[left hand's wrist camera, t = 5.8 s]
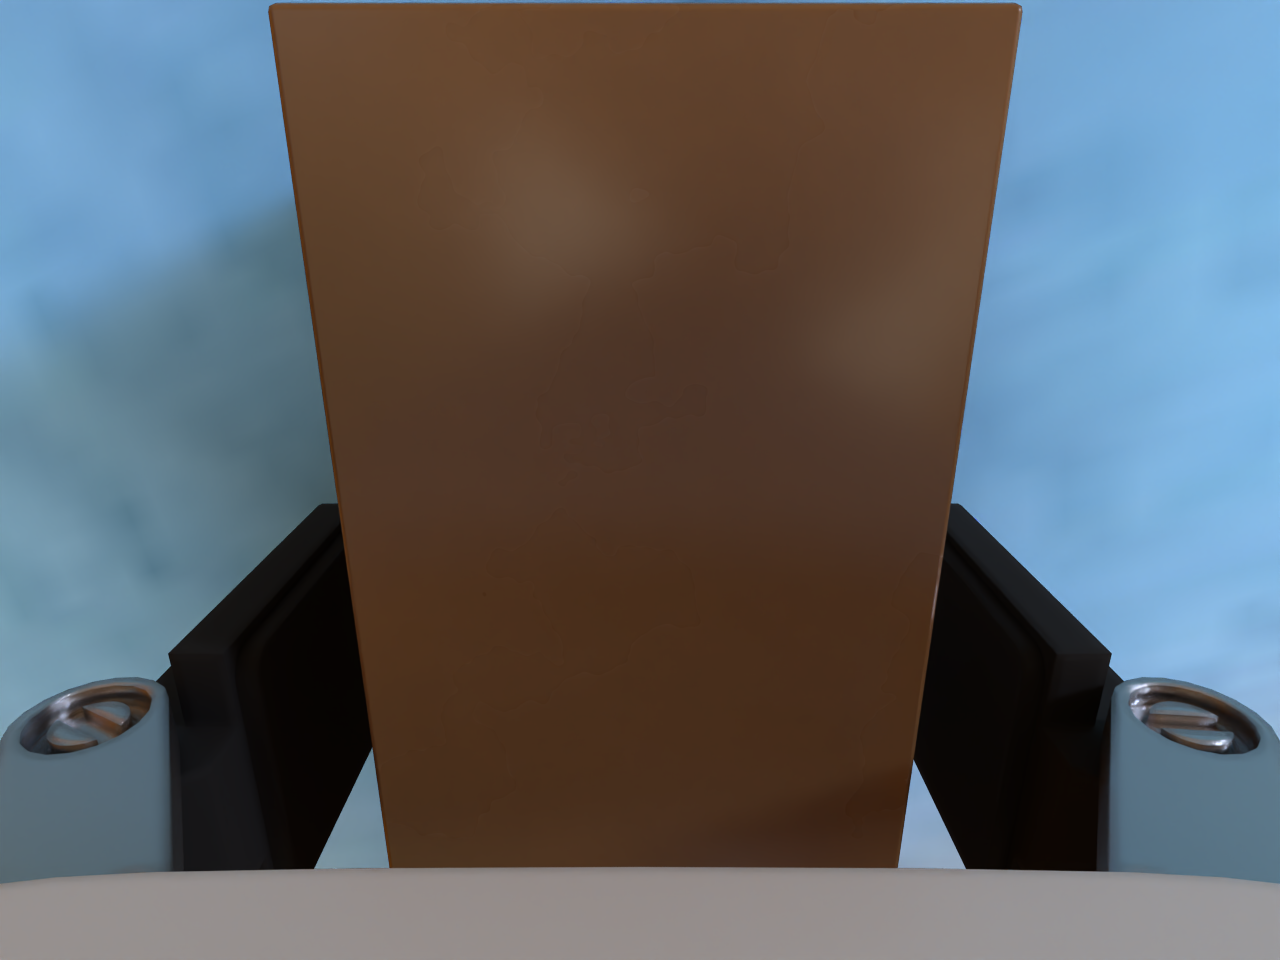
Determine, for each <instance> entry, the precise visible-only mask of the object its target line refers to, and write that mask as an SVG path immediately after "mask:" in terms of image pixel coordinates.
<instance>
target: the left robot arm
mask: <svg viewBox="0 0 1280 960" xmlns="http://www.w3.org/2000/svg"><path fill="white" fill-rule="evenodd" d="M168 655H169V659H170V663H171V667H170V668H169V669H168V670H167V671H166V672H165V673H164V674H163V675H162V676H161V677H160V678H159V679H158V680H157V681H154V680H149V679H144V678H139V677H129V678H113V679H107V680H101V681H95V682H91V683H88V684H85V685H81V686H78V687H75V688H72V689H68V690H66V691H64V692H61V693H59V694H57V695H55V696H52V697H50V698H48V699H46V700H44V701H42V702H40V703H39V704H37V705H36V706H34V707H32V708H31V709H29V710H27V711H26V712H24V713H23V714H22V715H21V716H20V717H19V718H17V719H16V720H15V721H14V722H13V723H12V724H11V725H10V726H9V727H8V728H7V730H6V732H5V733H4V735H3V737H2V738H1V740H0V960H1280V740H1279V738H1278V737H1277V735H1276V733H1275V732H1274V730H1273V728H1272V727H1271V726H1270V725H1269V724H1268V723H1267V722H1266V721H1265V720H1264V719H1263V718H1261V717H1260V716H1259V715H1258V714H1257V713H1256V712H1254V711H1253V710H1251V709H1249V708H1248V707H1246V706H1244V705H1243V704H1241V703H1240V702H1238V701H1236V700H1234V699H1232V698H1230V697H1228V696H1225V695H1223V694H1221V693H1219V692H1216V691H1214V690H1212V689H1208V688H1205V687H1202V686H1199V685H1195V684H1192V683H1189V682H1185V681H1179V680H1173V679H1167V678H1151V677H1141V678H1136V679H1131V680H1126V681H1123V680H1122V679H1121V678H1120V677H1119V676H1118V675H1117V674H1116V673H1115V672H1114V671H1113V670H1112V669H1111V668H1110V667H1109V663H1110V659H1111V655H1112V653H1111V652H1110V651H1109V650H1108V649H1107V648H1106V647H1105V646H1104V645H1102V644H1101V643H1100V642H1099V641H1098V640H1097V639H1096V638H1095V637H1094V636H1093V635H1092V634H1091V633H1090V632H1089V631H1088V630H1087V629H1086V628H1085V627H1084V626H1083V625H1082V624H1081V623H1080V622H1079V621H1078V620H1077V619H1076V618H1075V617H1074V616H1073V615H1072V614H1071V613H1070V612H1069V611H1068V610H1067V609H1066V608H1065V607H1064V606H1063V605H1062V604H1061V603H1060V602H1059V601H1058V600H1057V599H1056V598H1055V597H1054V596H1053V595H1052V594H1051V593H1050V592H1049V591H1048V590H1047V589H1046V588H1045V587H1044V586H1043V585H1042V584H1041V583H1040V582H1039V581H1038V580H1036V579H1035V578H1034V577H1033V576H1032V575H1031V574H1030V573H1029V572H1028V571H1027V570H1026V569H1025V568H1024V567H1023V566H1022V565H1021V564H1020V563H1019V562H1018V561H1017V560H1016V559H1015V558H1014V557H1013V556H1012V555H1011V554H1010V553H1009V552H1008V551H1007V550H1006V549H1005V548H1004V547H1003V546H1002V545H1001V544H1000V543H999V542H998V541H997V540H996V539H995V538H994V537H993V536H992V535H991V534H990V533H989V532H988V531H987V530H986V529H985V528H984V527H983V526H982V525H981V524H980V523H979V522H978V521H977V520H976V519H975V518H974V517H973V516H972V515H970V514H969V513H968V512H967V511H966V510H965V509H964V508H963V507H962V506H961V505H959V504H951V505H950V512H949V519H948V526H947V533H946V540H945V546H944V553H943V560H942V567H941V574H940V581H939V588H938V594H937V601H936V608H935V615H934V622H933V629H932V636H931V642H930V649H929V656H928V663H927V670H926V677H925V684H924V690H923V697H922V704H921V711H920V718H919V725H918V732H917V738H916V745H915V752H914V761H915V763H916V765H917V768H918V770H919V772H920V774H921V776H922V778H923V780H924V782H925V784H926V786H927V788H928V791H929V793H930V795H931V797H932V799H933V801H934V803H935V805H936V807H937V809H938V811H939V813H940V816H941V818H942V820H943V822H944V824H945V826H946V828H947V830H948V832H949V834H950V836H951V838H952V841H953V843H954V845H955V847H956V849H957V851H958V853H959V855H960V857H961V859H962V861H963V863H964V866H965V868H966V869H931V868H751V867H529V868H349V869H314V868H315V866H316V863H317V861H318V859H319V857H320V855H321V853H322V851H323V849H324V847H325V845H326V843H327V841H328V838H329V836H330V834H331V832H332V830H333V828H334V826H335V824H336V822H337V820H338V818H339V816H340V813H341V811H342V809H343V807H344V805H345V803H346V801H347V799H348V797H349V795H350V793H351V790H352V788H353V786H354V784H355V782H356V780H357V778H358V776H359V774H360V772H361V770H362V768H363V765H364V763H365V761H366V759H367V757H368V755H369V753H370V751H371V749H372V740H371V733H370V726H369V719H368V712H367V705H366V698H365V691H364V684H363V677H362V670H361V663H360V656H359V648H358V641H357V634H356V627H355V620H354V613H353V606H352V599H351V592H350V585H349V578H348V571H347V564H346V557H345V550H344V543H343V535H342V528H341V521H340V514H339V507H338V504H321V505H319V506H318V507H317V508H316V509H315V510H314V511H313V512H312V513H310V514H309V515H308V516H307V517H306V518H305V519H304V520H303V521H302V522H301V523H300V524H299V525H298V526H297V527H296V528H295V529H294V530H293V531H292V532H291V533H290V534H289V535H288V536H287V537H286V538H285V539H284V540H283V541H282V542H281V543H280V544H279V545H278V546H277V547H276V548H275V549H274V550H273V551H272V552H271V553H270V554H269V555H268V556H267V557H266V558H265V559H264V560H263V561H262V562H261V563H260V564H259V565H258V566H257V567H256V568H255V569H254V570H253V571H252V572H251V573H250V574H249V575H248V576H247V577H246V578H245V579H243V580H242V581H241V582H240V583H239V584H238V585H237V586H236V587H235V588H234V589H233V590H232V591H231V592H230V593H229V594H228V595H227V596H226V597H225V598H224V599H223V600H222V601H221V602H220V603H219V604H218V605H217V606H216V607H215V608H214V609H213V610H212V611H211V612H210V613H209V614H208V615H207V616H206V617H205V618H204V619H203V620H202V621H201V622H200V623H199V624H198V625H197V626H196V627H195V628H194V629H193V630H192V631H191V632H190V633H189V634H188V635H187V636H186V637H185V638H184V639H183V640H182V641H181V642H180V643H179V644H177V645H176V646H175V647H174V648H173V649H172V650H171V651H170V652H169V653H168Z"/></svg>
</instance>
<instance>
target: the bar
mask: <svg viewBox="0 0 1280 960" xmlns="http://www.w3.org/2000/svg"><path fill="white" fill-rule="evenodd" d="M268 13H269V20H270V27H271V34H272V41H273V48H274V55H275V62H276V69H277V77H278V84H279V91H280V98H281V105H282V112H283V119H284V126H285V133H286V140H287V147H288V154H289V161H290V168H291V175H292V182H293V190H294V197H295V204H296V211H297V218H298V225H299V232H300V239H301V246H302V253H303V260H304V267H305V274H306V281H307V288H308V295H309V302H310V310H311V317H312V324H313V331H314V338H315V345H316V352H317V359H318V366H319V373H320V380H321V387H322V394H323V401H324V408H325V415H326V423H327V430H328V437H329V444H330V451H331V458H332V465H333V472H334V479H335V486H336V493H337V500H338V507H339V514H340V521H341V528H342V535H343V543H344V550H345V557H346V564H347V571H348V578H349V585H350V592H351V599H352V606H353V613H354V620H355V627H356V634H357V641H358V648H359V656H360V663H361V670H362V677H363V684H364V691H365V698H366V705H367V712H368V719H369V726H370V733H371V740H372V747H373V754H374V761H375V768H376V776H377V783H378V790H379V797H380V804H381V811H382V818H383V825H384V832H385V839H386V846H387V853H388V860H389V867H390V868H529V867H751V868H898V862H899V855H900V848H901V841H902V834H903V828H904V821H905V814H906V807H907V800H908V793H909V786H910V780H911V773H912V766H913V759H914V752H915V745H916V738H917V732H918V725H919V718H920V711H921V704H922V697H923V690H924V684H925V677H926V670H927V663H928V656H929V649H930V642H931V636H932V629H933V622H934V615H935V608H936V601H937V594H938V588H939V581H940V574H941V567H942V560H943V553H944V546H945V540H946V533H947V526H948V519H949V512H950V505H951V498H952V492H953V485H954V478H955V471H956V464H957V457H958V450H959V444H960V437H961V430H962V423H963V416H964V409H965V402H966V396H967V389H968V382H969V375H970V368H971V361H972V354H973V348H974V341H975V334H976V327H977V320H978V313H979V306H980V300H981V293H982V286H983V279H984V272H985V265H986V258H987V252H988V245H989V238H990V231H991V224H992V217H993V210H994V204H995V197H996V190H997V183H998V176H999V169H1000V162H1001V156H1002V149H1003V142H1004V135H1005V128H1006V121H1007V114H1008V108H1009V101H1010V94H1011V87H1012V80H1013V73H1014V66H1015V60H1016V53H1017V46H1018V39H1019V32H1020V25H1021V18H1022V6H1020V5H1018V4H1016V3H275V4H273V5H271V6H269V11H268Z"/></svg>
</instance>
